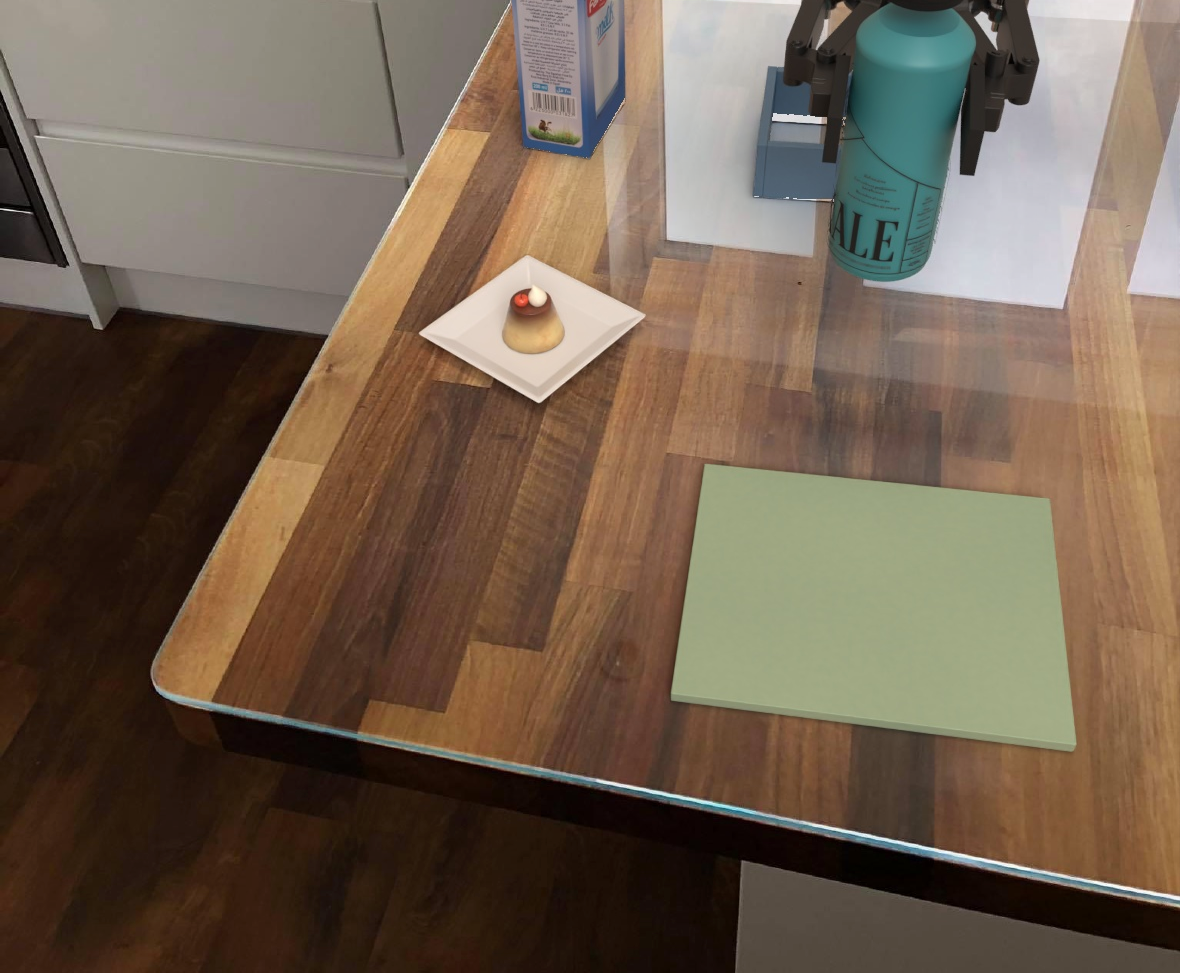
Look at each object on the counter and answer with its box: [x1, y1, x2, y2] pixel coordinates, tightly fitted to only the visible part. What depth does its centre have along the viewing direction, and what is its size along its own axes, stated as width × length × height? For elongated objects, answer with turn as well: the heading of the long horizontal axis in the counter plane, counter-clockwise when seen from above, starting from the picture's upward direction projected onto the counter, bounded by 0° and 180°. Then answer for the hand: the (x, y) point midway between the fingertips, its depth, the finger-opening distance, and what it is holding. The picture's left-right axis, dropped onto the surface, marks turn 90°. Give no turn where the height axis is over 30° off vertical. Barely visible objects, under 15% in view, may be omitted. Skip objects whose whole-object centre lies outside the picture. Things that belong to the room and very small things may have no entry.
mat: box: [670, 463, 1078, 753], centre depth 74 cm, size 22×18×1 cm
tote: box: [752, 65, 853, 200], centre depth 104 cm, size 13×13×5 cm
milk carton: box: [511, 0, 626, 160], centre depth 103 cm, size 10×6×20 cm, turn 160°
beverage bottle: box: [826, 0, 976, 283], centre depth 68 cm, size 6×7×20 cm
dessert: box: [418, 254, 647, 404], centre depth 89 cm, size 12×12×5 cm
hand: (901, 146), depth 64 cm, fingers closed on beverage bottle, 6 cm apart
